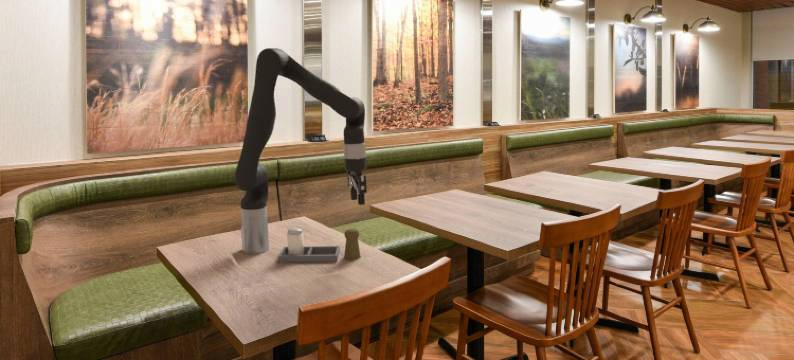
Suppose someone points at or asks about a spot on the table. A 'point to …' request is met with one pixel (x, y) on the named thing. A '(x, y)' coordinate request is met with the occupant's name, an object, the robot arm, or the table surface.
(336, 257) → the caddy
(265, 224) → the robot arm
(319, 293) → the table surface
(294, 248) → the salt shaker
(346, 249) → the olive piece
